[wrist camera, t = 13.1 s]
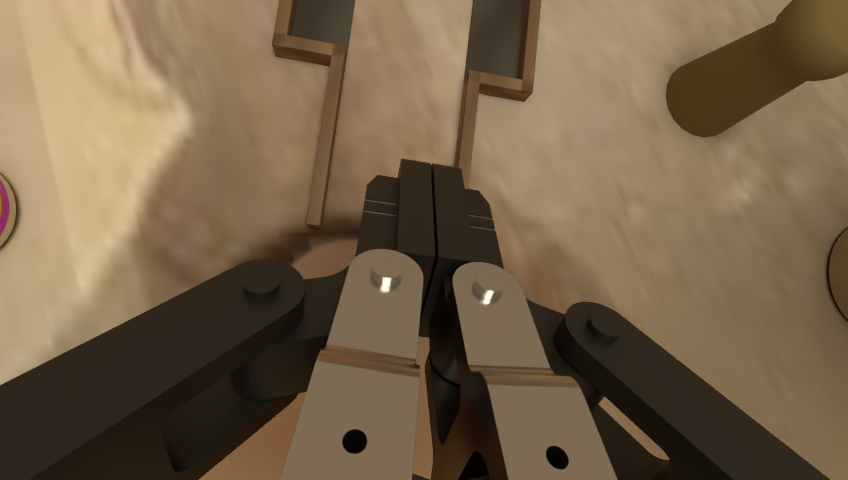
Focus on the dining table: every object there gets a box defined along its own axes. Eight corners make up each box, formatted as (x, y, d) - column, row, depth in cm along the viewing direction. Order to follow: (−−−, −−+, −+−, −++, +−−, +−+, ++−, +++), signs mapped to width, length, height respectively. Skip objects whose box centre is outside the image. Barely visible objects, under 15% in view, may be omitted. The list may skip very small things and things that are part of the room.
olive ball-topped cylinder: (663, 59, 34) (804, -45, 23) (733, 64, 35) (899, -33, 24) (668, 135, 34) (814, 64, 23) (738, 138, 35) (911, 72, 24)
